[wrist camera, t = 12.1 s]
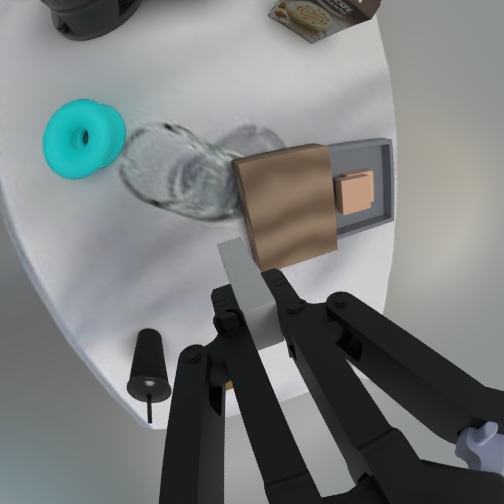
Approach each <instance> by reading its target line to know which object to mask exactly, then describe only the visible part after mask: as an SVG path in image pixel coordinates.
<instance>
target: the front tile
mask: <svg viewBox="0 0 504 504" xmlns="http://www.w3.org/2000/svg"><path fill="white" fill-rule="evenodd" d="M335 185H336V197H337V211H338V212H339V213H340V214H342V215H347V214H350V213H354V212H358V211H361V210H365V209H368V208H371V201H370V176H369V175H366V174H363V173H362V174H356V175H351V176H347V177H342V178H337V179H335Z"/></svg>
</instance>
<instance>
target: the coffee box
mask: <svg viewBox="0 0 504 504" xmlns="http://www.w3.org/2000/svg"><path fill="white" fill-rule="evenodd" d="M380 2H381V0H279V1H278V2H277V4H276V5H275V6H274V7H273V9H272V10H271V11H270V13H269V17H271V18H273V19H275V20H276V21H278V22H279V23H281V24H283V25H284V26H286V27H288V28H289V29H291V30H292V31H294V32H295V33H297V34H298V35H300V36H301V37H303V38H304V39H306V40H307V41H308V42H310V43H311V44H313V43H315V42H317V41H319V40H321V39H323V38H325V37H328V36H330V35H332V34H334V33H337V32H339V31H341V30H344V29H346V28H349V27H352V26H354V25H357V24H359V23H362V22H365V21H368V20H371V19H372V17H373V16H374V14H375V13H376V11H377V9H378V8H379V6H380Z"/></svg>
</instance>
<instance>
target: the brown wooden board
mask: <svg viewBox="0 0 504 504" xmlns="http://www.w3.org/2000/svg"><path fill="white" fill-rule="evenodd" d="M232 164H233V169H234V173H235V178H236V182H237V187H238V191H239V195H240V200H241V204H242V209H243V213H244V218H245V222H246V227H247V231H248V236H249V240H250V245H251V249H252V254H253V258H254V261H255V263H256V265H257V266H258V268H259V270H260V271H261V272H264V271H267V270H270V269H272V268H276V269H281V268H284V267H287V266H290V265H293V264H296V263H299V262H302V261H305V260H308V259H311V258H314V257H317V256H320V255H323V254H326V253H329V252H332V251H335V250H338V249H337V230H336V215H335V202H334V191H333V181H332V171H331V163H330V155H329V147H328V146H326V145H320V144H314V143H313V144H307V145H301V146H296V147H290V148H285V149H280V150H275V151H270V152H266V153H261V154H256V155H252V156H248V157H243V158H239V159H235V160H232Z"/></svg>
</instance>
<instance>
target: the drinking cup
mask: <svg viewBox="0 0 504 504" xmlns="http://www.w3.org/2000/svg"><path fill="white" fill-rule="evenodd" d="M127 391H128V393H129V394H130V395H131V396H132V397H133V398H135V399H137V400H139V401H142V402H147V413H148V423H150V424H151V423H152V407H151V403H158V402H162V401H164V400H166V399H168V398H169V397H170V395H171V392H172V391H171V387H170V385H169V382H168V377H167V371H166V365H165V359H164V353H163V346H162V339H161V335H160V333H159V332H157V331H156V330H154V329H143V330H141V331H140V332H139V334H138V338H137V343H136V348H135V352H134V357H133V362H132V368H131V373H130V379H129V381H128V383H127Z"/></svg>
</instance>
